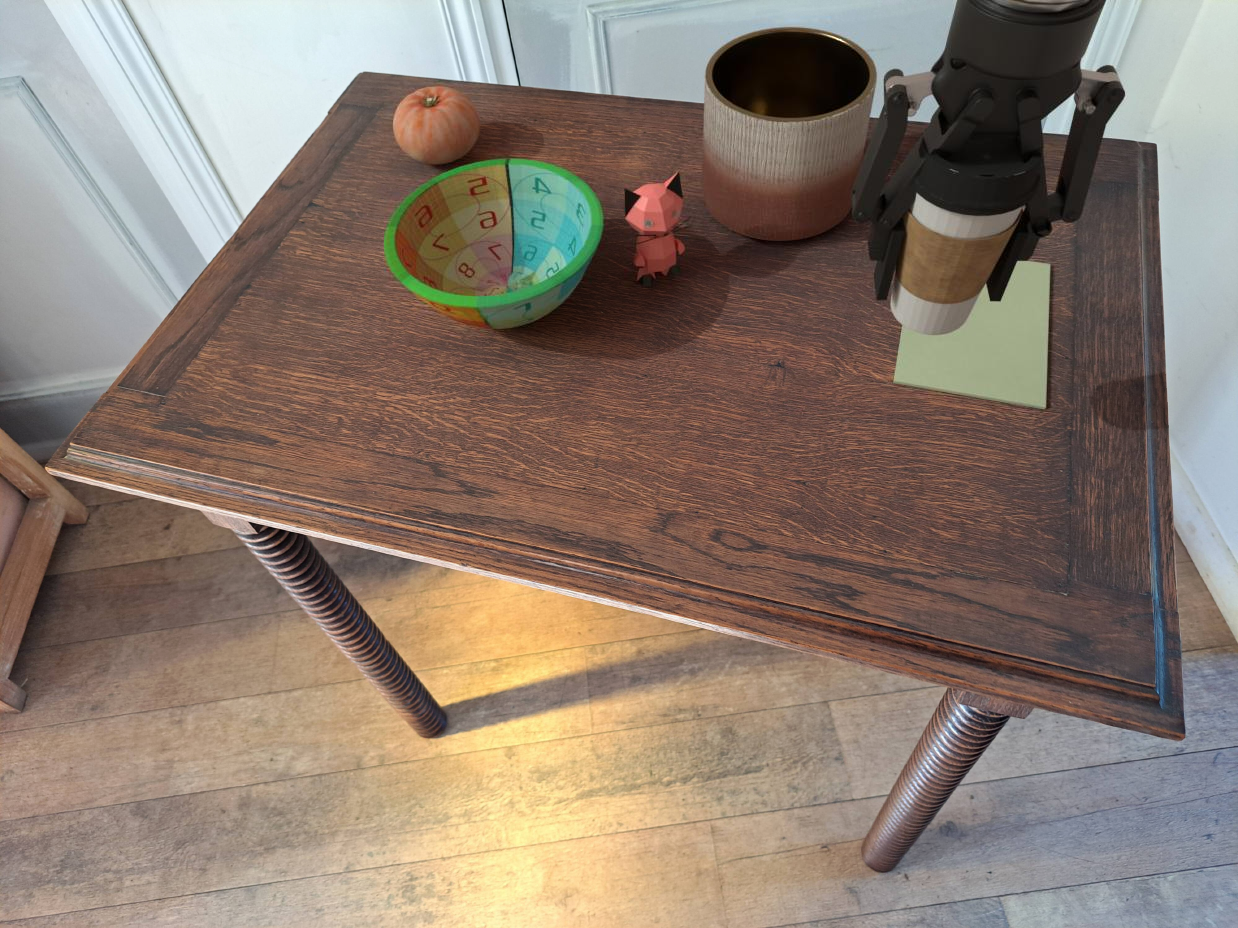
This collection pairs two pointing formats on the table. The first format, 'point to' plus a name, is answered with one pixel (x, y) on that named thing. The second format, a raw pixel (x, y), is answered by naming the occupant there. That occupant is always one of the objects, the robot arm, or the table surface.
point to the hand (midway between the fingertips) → (935, 287)
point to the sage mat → (988, 346)
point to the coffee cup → (958, 230)
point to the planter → (785, 131)
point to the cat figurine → (656, 227)
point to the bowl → (495, 241)
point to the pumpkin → (436, 125)
